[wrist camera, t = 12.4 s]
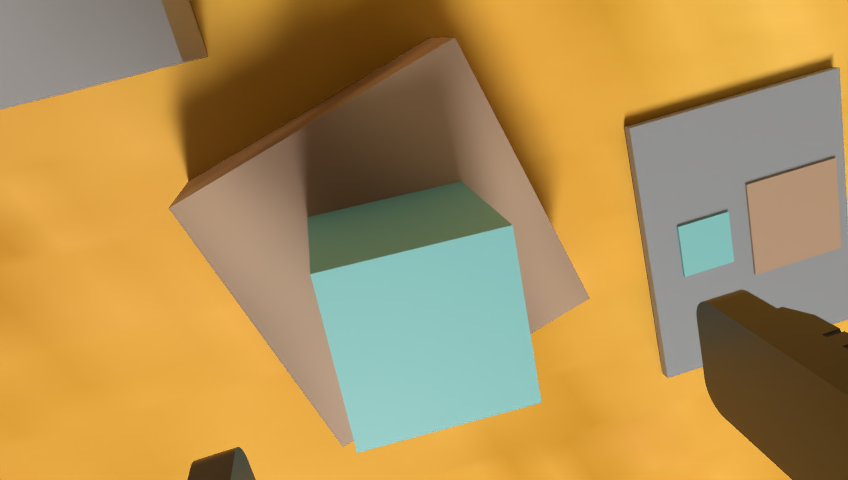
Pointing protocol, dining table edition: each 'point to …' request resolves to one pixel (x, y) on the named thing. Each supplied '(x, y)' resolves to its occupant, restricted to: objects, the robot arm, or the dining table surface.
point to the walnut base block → (363, 201)
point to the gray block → (89, 43)
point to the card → (743, 206)
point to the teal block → (422, 313)
